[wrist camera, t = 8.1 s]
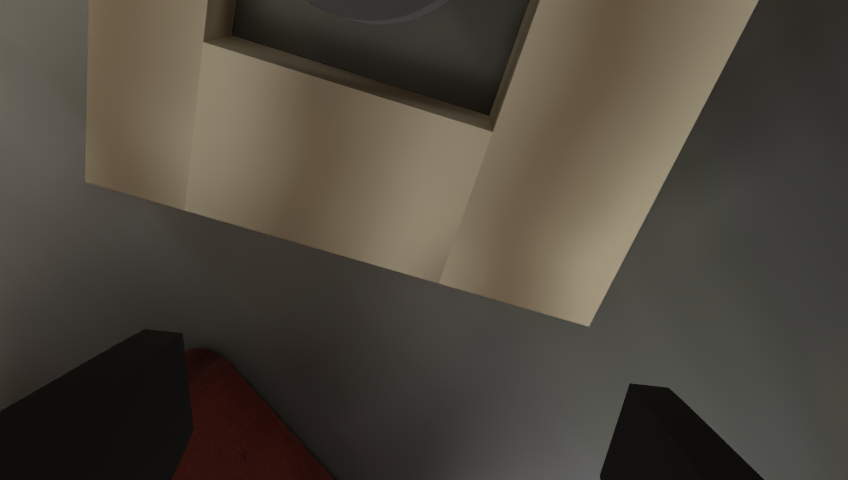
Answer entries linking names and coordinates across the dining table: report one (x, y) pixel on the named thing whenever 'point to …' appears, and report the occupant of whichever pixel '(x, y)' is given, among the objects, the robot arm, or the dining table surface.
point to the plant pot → (237, 430)
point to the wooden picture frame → (414, 140)
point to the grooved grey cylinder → (378, 9)
